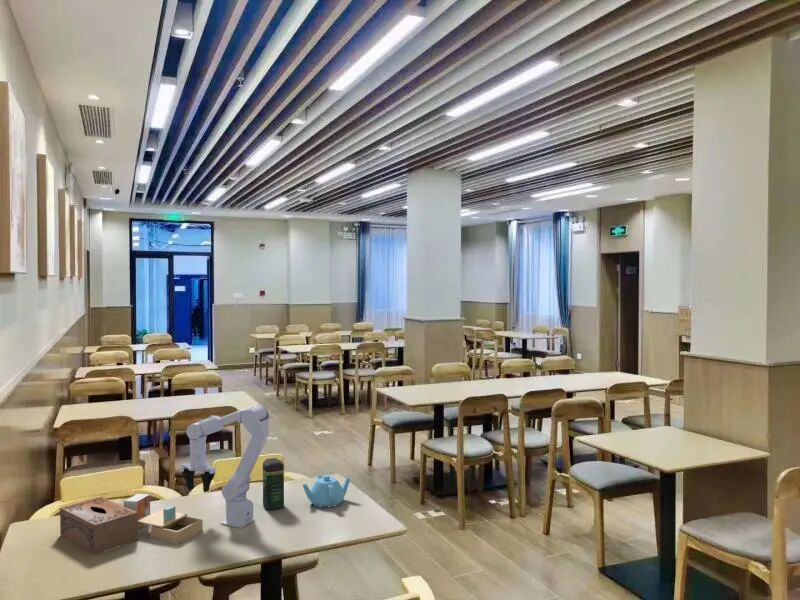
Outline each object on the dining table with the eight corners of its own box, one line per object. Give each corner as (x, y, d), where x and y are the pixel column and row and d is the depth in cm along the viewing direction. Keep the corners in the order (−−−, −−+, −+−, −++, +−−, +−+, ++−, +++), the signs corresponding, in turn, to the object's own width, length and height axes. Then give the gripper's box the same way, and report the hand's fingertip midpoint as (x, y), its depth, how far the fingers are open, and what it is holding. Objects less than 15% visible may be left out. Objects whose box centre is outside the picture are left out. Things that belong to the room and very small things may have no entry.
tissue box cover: (60, 536, 209) (60, 507, 209) (101, 523, 221) (101, 496, 221) (95, 555, 194) (94, 525, 193) (138, 541, 205) (137, 512, 205)
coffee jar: (286, 508, 234) (286, 461, 234) (266, 511, 231) (265, 464, 230) (280, 500, 243) (280, 455, 242) (261, 503, 239) (260, 457, 239)
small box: (137, 531, 213) (136, 501, 213) (123, 529, 214) (122, 500, 214) (150, 522, 221) (150, 494, 221) (137, 521, 222) (137, 493, 222)
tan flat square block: (187, 515, 216) (187, 503, 216) (161, 527, 205) (161, 514, 205) (162, 511, 220) (162, 498, 220) (136, 522, 209) (135, 509, 209)
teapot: (300, 506, 237) (299, 479, 237) (319, 494, 251) (318, 468, 251) (334, 511, 231) (333, 483, 231) (351, 498, 245) (351, 472, 245)
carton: (202, 530, 213) (202, 519, 213) (177, 543, 202) (177, 532, 202) (176, 525, 218) (176, 514, 218) (151, 538, 207) (150, 526, 207)
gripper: (175, 455, 224) (175, 490, 224) (205, 459, 218) (206, 496, 218) (189, 450, 230) (189, 485, 231) (218, 454, 225) (219, 490, 225)
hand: (198, 490), depth 225 cm, fingers open, 7 cm apart
